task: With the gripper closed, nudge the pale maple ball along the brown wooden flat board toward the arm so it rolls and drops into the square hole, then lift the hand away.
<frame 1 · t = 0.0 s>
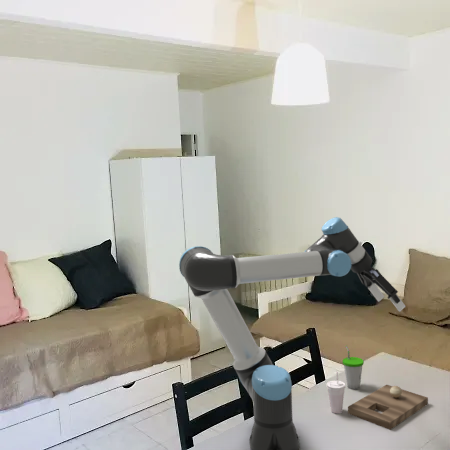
hand: (391, 303, 177), 36 cm above the table, tool tilted 35°, fingers open, 13 cm apart
ball: (396, 391, 180), point 4 cm above the table, touching brown wooden flat board
smoothie: (336, 411, 178), on the table
brown wooden flat board: (388, 408, 178), on the table
cup: (353, 387, 196), on the table
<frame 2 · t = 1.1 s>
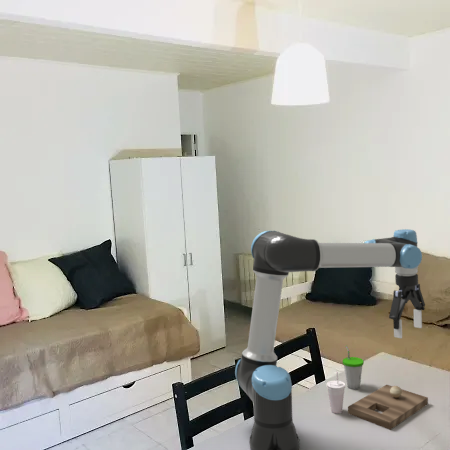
hand: (408, 332, 184), 24 cm above the table, tool pointing down, fingers open, 13 cm apart
nothing on the table moved.
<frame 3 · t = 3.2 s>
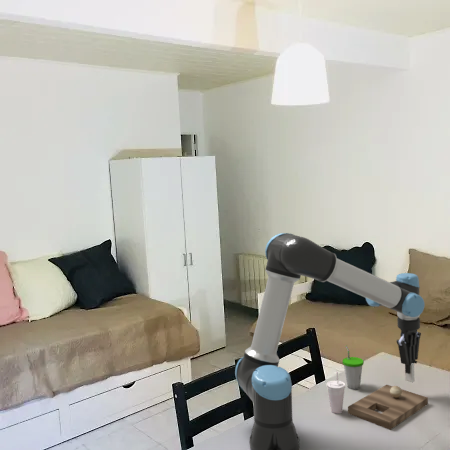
hand: (409, 380, 186), 6 cm above the table, tool pointing down, fingers closed
nothing on the table moved.
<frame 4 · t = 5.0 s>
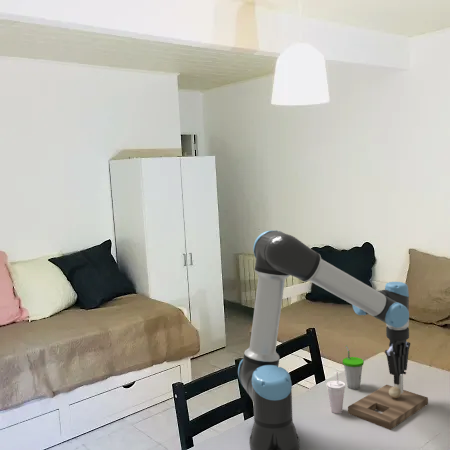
hand: (398, 391, 182), 4 cm above the table, tool pointing down, fingers closed
ball: (394, 392, 180), point 4 cm above the table, tilted 21°, touching brown wooden flat board, gripper
everything else where it was.
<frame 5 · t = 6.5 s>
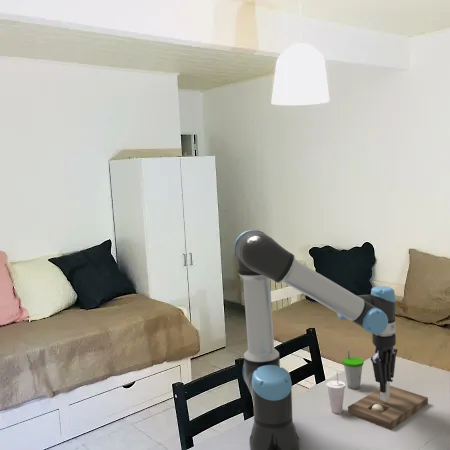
hand: (385, 400, 176), 4 cm above the table, tool pointing down, fingers closed
ball: (377, 410, 173), point 2 cm above the table, tilted 41°
everything else where it was.
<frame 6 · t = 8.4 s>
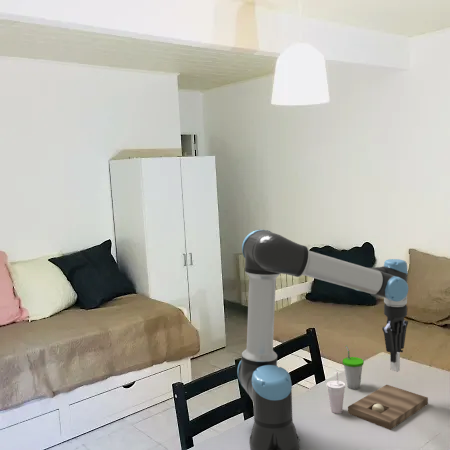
hand: (395, 370, 181), 12 cm above the table, tool pointing down, fingers closed
ball: (378, 409, 173), point 2 cm above the table, tilted 50°
everything else where it was.
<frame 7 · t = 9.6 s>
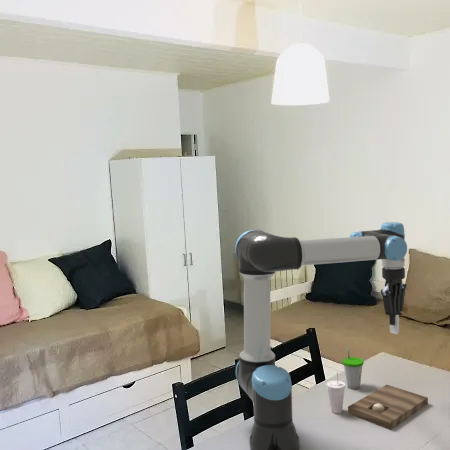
hand: (394, 333, 182), 24 cm above the table, tool pointing down, fingers closed
ball: (378, 409, 173), point 2 cm above the table, tilted 55°
everything else where it was.
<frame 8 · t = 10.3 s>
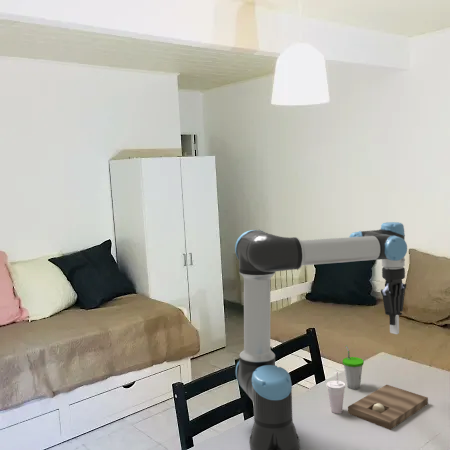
hand: (394, 333, 182), 24 cm above the table, tool pointing down, fingers closed
nothing on the table moved.
at the end: ball 0.1 cm from the target spot on the brown wooden flat board, point 2.0 cm above the brown wooden flat board's base; smoothie moved 0.2 cm from its start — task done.
